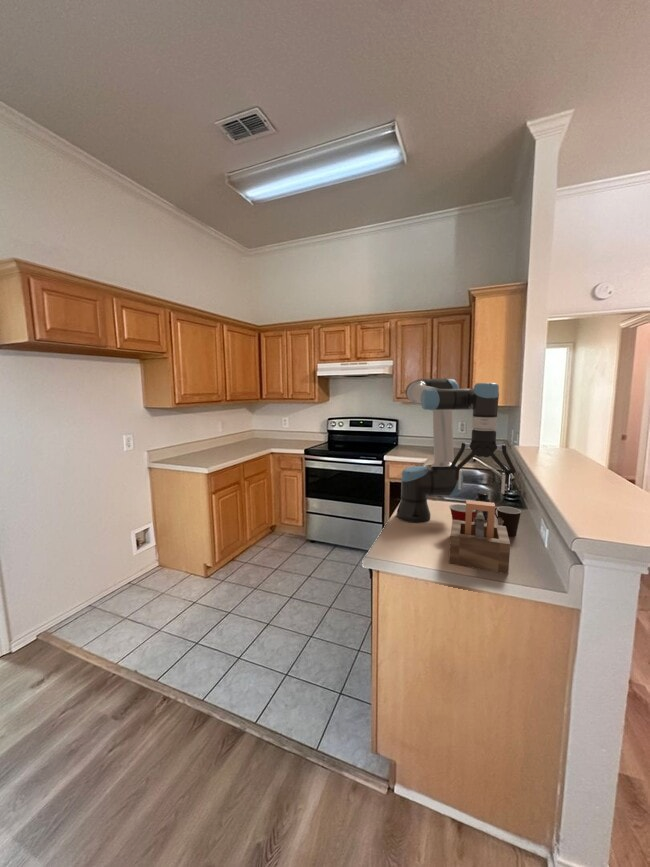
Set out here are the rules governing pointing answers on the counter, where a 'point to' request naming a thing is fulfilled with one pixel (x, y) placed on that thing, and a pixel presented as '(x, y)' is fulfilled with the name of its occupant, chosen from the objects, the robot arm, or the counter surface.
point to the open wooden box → (479, 546)
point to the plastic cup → (460, 512)
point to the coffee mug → (508, 519)
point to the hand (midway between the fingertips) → (480, 490)
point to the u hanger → (482, 507)
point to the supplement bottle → (483, 500)
